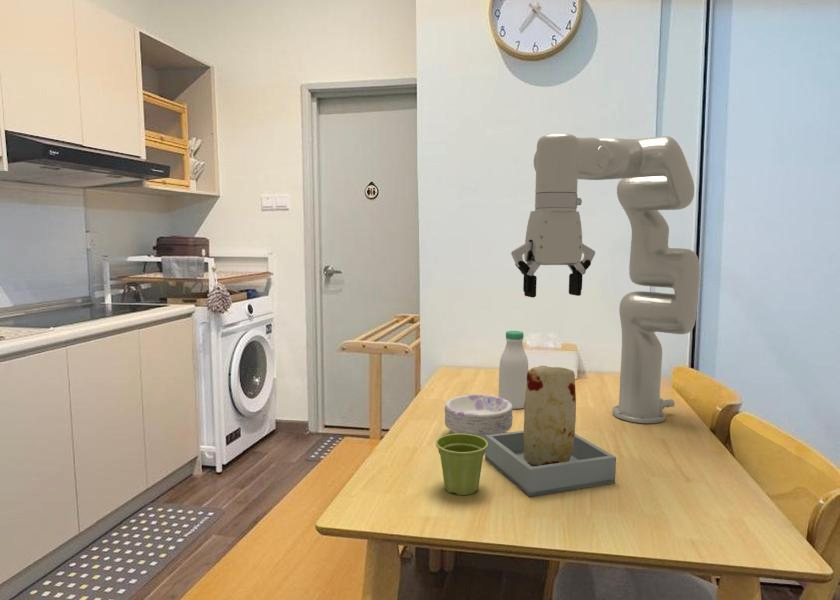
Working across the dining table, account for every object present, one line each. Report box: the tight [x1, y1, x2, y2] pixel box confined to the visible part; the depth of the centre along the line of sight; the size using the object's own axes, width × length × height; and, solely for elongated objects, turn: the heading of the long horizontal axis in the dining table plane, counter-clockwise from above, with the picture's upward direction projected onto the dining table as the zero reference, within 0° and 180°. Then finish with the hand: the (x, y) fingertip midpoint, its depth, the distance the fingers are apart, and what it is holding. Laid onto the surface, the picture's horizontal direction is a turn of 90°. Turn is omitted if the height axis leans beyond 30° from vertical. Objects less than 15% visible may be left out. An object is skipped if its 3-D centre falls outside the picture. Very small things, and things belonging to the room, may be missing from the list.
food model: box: [523, 365, 577, 466], centre depth 111 cm, size 10×7×20 cm
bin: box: [484, 430, 617, 498], centre depth 112 cm, size 18×18×5 cm
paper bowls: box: [444, 394, 514, 439], centre depth 130 cm, size 15×15×8 cm
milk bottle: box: [498, 330, 529, 410], centre depth 153 cm, size 8×8×20 cm
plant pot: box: [435, 433, 488, 496], centre depth 104 cm, size 9×9×9 cm
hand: (552, 295), depth 108 cm, fingers open, 9 cm apart
